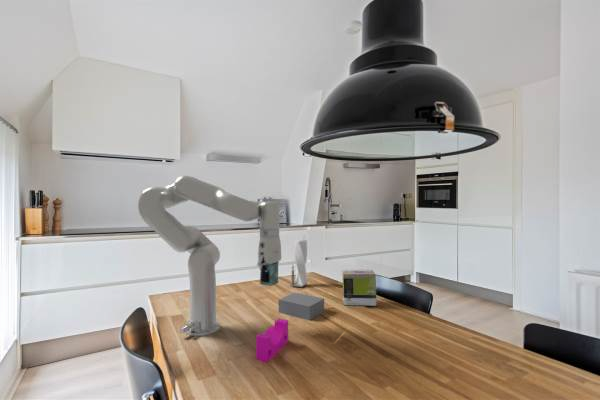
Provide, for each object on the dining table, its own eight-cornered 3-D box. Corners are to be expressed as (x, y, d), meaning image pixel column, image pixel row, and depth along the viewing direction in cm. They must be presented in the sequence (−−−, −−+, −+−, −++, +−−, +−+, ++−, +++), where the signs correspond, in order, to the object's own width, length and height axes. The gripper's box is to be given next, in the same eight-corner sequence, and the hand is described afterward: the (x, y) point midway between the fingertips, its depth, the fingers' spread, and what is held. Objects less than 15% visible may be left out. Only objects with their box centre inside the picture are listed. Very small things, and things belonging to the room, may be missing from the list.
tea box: (373, 299, 151) (373, 269, 151) (376, 306, 141) (376, 274, 141) (342, 298, 152) (342, 268, 152) (343, 305, 142) (343, 273, 142)
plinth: (309, 321, 125) (309, 306, 125) (278, 313, 134) (278, 299, 134) (324, 312, 135) (324, 298, 135) (294, 305, 144) (294, 292, 144)
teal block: (271, 286, 116) (271, 265, 116) (260, 284, 118) (260, 263, 118) (278, 283, 121) (278, 262, 121) (267, 281, 123) (267, 261, 123)
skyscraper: (297, 282, 184) (297, 235, 183) (309, 283, 180) (309, 235, 180) (290, 285, 176) (290, 236, 176) (303, 287, 173) (303, 237, 172)
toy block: (272, 338, 110) (272, 317, 110) (288, 341, 108) (288, 320, 107) (249, 358, 96) (249, 334, 96) (267, 362, 94) (267, 338, 94)
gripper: (265, 236, 110) (265, 287, 110) (288, 231, 125) (288, 276, 125) (248, 235, 113) (248, 284, 114) (273, 230, 129) (272, 274, 129)
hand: (269, 279), depth 119 cm, fingers closed on teal block, 5 cm apart
